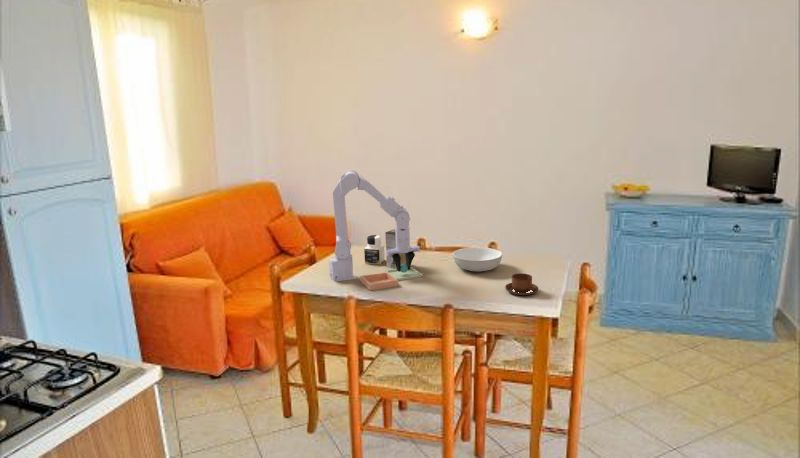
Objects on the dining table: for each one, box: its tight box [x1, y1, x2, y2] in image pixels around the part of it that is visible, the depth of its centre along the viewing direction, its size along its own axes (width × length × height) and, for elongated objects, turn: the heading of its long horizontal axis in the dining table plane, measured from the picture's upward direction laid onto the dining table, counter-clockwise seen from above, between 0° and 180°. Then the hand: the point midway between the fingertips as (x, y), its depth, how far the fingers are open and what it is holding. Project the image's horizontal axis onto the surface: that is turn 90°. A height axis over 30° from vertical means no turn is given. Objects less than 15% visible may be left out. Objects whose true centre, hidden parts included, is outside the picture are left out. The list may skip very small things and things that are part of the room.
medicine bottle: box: [364, 234, 386, 265], centre depth 246 cm, size 7×7×12 cm
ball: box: [400, 264, 408, 273], centre depth 227 cm, size 4×4×4 cm
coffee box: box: [385, 228, 406, 269], centre depth 238 cm, size 9×6×16 cm
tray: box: [384, 266, 424, 282], centre depth 227 cm, size 12×12×1 cm
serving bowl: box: [452, 246, 503, 273], centre depth 234 cm, size 21×21×7 cm
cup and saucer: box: [504, 273, 539, 296], centre depth 205 cm, size 12×12×6 cm
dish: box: [359, 271, 399, 291], centre depth 217 cm, size 12×12×3 cm
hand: (403, 270), depth 227 cm, fingers closed on ball, 4 cm apart
